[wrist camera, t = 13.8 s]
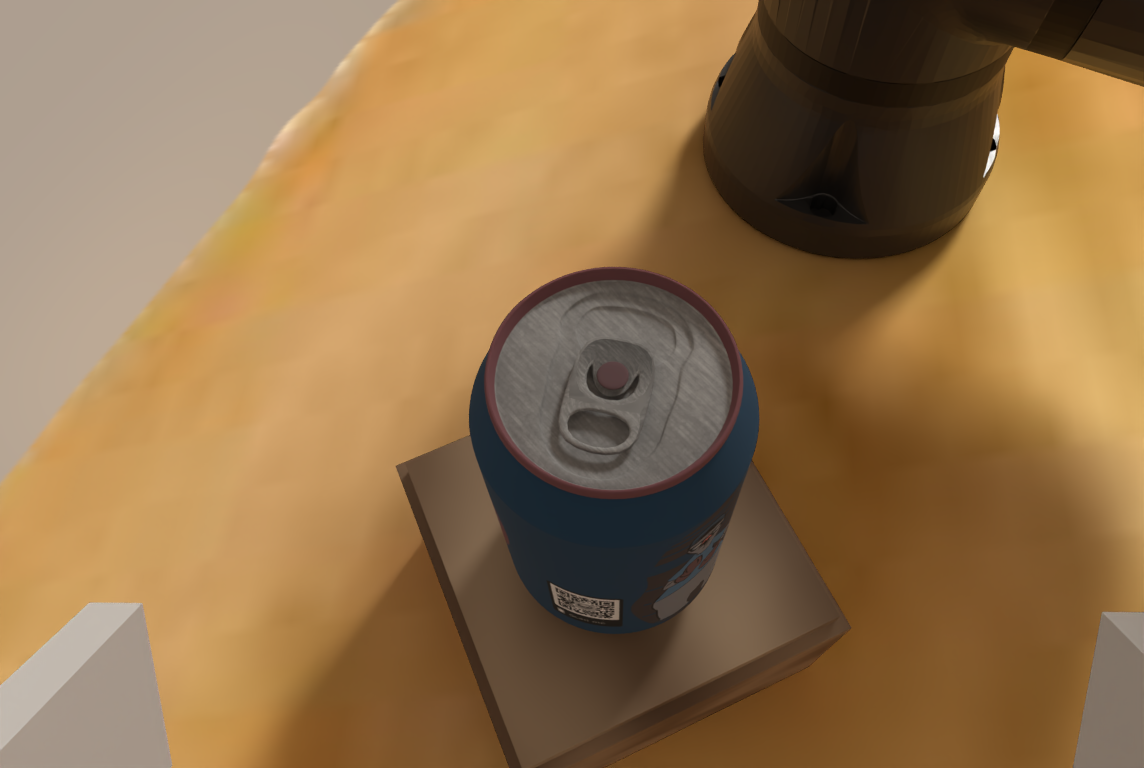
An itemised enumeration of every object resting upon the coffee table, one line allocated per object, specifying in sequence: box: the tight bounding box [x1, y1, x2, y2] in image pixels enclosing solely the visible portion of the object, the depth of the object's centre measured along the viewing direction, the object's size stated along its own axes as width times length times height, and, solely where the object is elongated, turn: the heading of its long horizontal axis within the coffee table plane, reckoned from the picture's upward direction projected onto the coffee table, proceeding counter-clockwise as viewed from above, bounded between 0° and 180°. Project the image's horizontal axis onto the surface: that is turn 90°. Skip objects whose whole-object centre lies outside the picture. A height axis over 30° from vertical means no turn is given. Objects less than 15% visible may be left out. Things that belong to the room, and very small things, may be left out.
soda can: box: [469, 267, 759, 634], centre depth 24 cm, size 7×7×12 cm
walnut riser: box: [396, 435, 851, 768], centre depth 33 cm, size 12×12×8 cm
